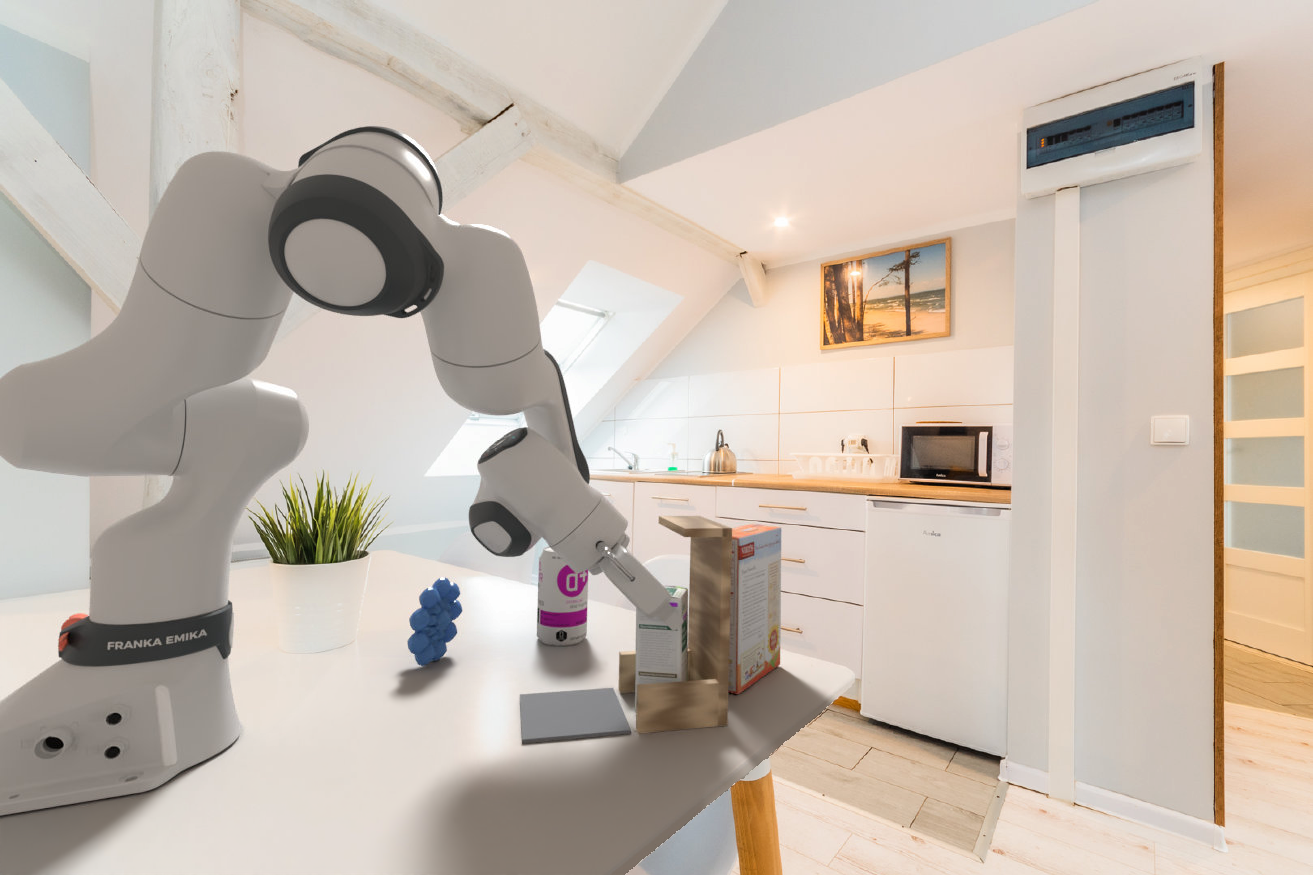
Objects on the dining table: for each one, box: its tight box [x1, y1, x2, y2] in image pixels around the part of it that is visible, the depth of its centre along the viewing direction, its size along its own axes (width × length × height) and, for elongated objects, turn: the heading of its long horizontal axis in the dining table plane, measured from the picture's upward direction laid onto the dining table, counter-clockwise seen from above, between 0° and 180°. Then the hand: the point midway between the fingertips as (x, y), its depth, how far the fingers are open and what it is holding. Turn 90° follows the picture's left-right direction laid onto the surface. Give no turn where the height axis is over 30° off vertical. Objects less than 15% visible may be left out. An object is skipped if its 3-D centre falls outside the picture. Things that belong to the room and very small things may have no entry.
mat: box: [519, 687, 632, 744], centre depth 72 cm, size 12×12×1 cm
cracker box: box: [728, 523, 782, 695], centre depth 86 cm, size 14×6×21 cm, turn 145°
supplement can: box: [536, 546, 589, 647], centre depth 100 cm, size 8×8×15 cm
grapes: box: [407, 576, 463, 667], centre depth 88 cm, size 12×7×12 cm, turn 167°
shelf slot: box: [617, 515, 733, 734], centre depth 75 cm, size 11×12×23 cm
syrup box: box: [634, 584, 689, 714], centre depth 74 cm, size 6×6×14 cm
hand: (668, 614), depth 75 cm, fingers closed on syrup box, 7 cm apart
